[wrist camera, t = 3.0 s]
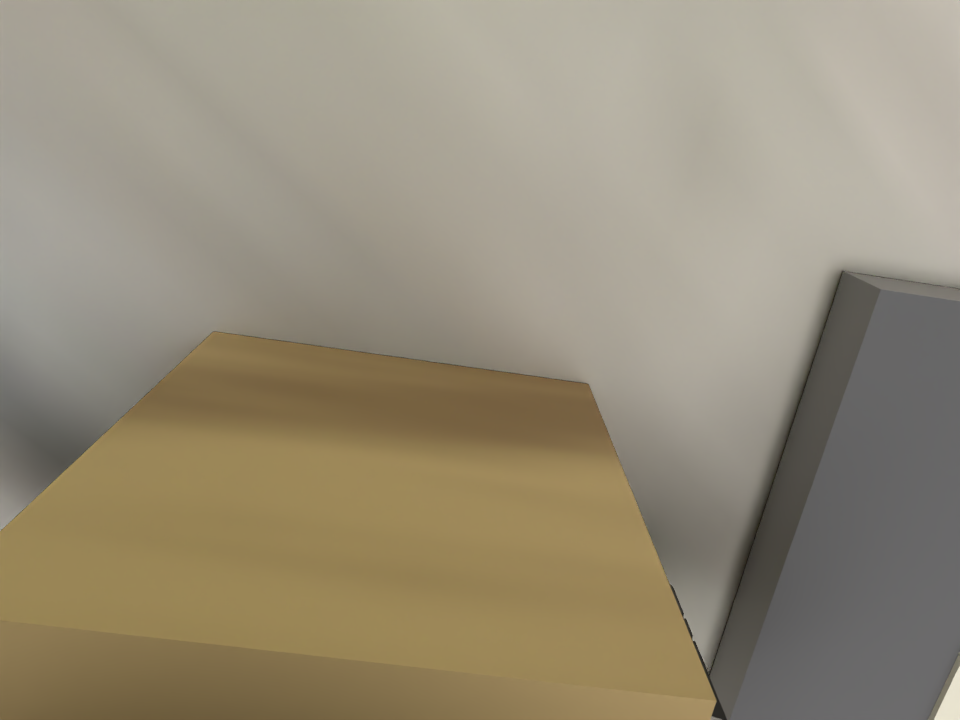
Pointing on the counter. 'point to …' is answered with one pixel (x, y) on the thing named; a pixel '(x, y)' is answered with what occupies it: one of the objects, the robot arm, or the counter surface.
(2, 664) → the ochre block
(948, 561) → the grey flat slab
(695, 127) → the counter surface
